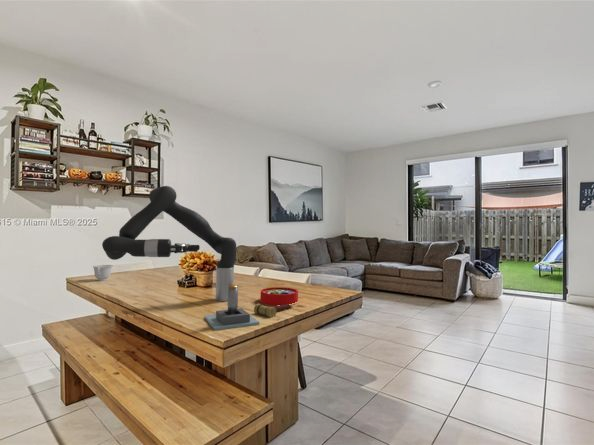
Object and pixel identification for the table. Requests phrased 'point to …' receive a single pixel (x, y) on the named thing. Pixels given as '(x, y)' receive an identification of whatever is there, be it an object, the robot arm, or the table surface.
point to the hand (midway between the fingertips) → (198, 248)
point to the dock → (219, 326)
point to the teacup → (102, 271)
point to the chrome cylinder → (232, 299)
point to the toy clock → (278, 296)
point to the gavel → (269, 309)
